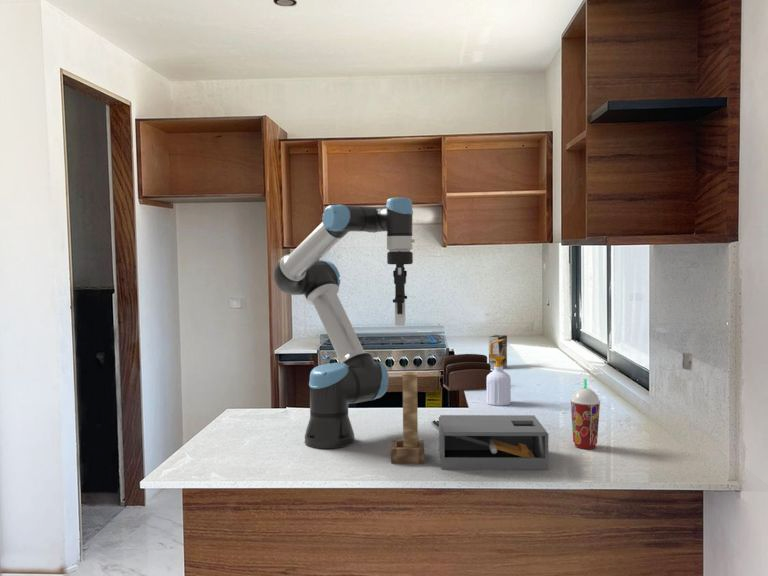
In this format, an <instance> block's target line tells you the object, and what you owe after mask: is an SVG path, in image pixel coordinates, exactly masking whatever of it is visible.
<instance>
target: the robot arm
mask: <svg viewBox="0 0 768 576" xmlns="http://www.w3.org/2000/svg"><path fill="white" fill-rule="evenodd" d="M385 205H386V206H367V205H366V206H365V205H362V206H361V205H348V204H347V205H345V204H340V203H339V204H330V205H328V206H326V207H325V209H324V212H323V213H322V217H321V219H322V222H321V223H319V225H317V227H316V228H315V229H314V230H313V231H312V232H311V233H310V234H309V235H307V237H306V238H304V240H303V241H302V242H301V243H300V244H298V246H297V247H296V248H295V249H294V250H293V251H291V253H288V254H285V255H283V256H282V257H281V258H280V259H279V261H278V262H277V263H276V265H275V266H274V269H273V280H274V283H275V285H276V287H277V288H278V289H279V290H280V291H281V292H283V293H284V294H288V295H292V296H301V295H303V296H305V299H306V301H307V304H309V305H313V306H314V308H315V310H316V312H317V315H318V316H319V318H320V320H321V323H322V325H323V328H324V330H325V332H326V334H327V337H328V339H329V341H330V343H331V345H332V347H333V350H334V352H335V354H336V356H337V358H338V361H339V362H332V363H324V364H323V363H322V364H320V365H317V366H315V367H313V368H312V369H311V371H310V373H309V382H308V386H309V411H310V412H309V415H310V416H309V420H308V423H307V427H306V430H305V433H304V444H305V445H306V446H309V447H311V448H316V449H337V448H338V449H339V448H344V447H348V446H350V445H352V444H354V443H355V431H354V428H353V426H352V423H351V421H350V416H349V405H352V404H358V403H363V402H368V401H370V402H371V401H374V400H376V399H380V398H382V397H383V396H384V395H385V394H386V392H387V390H388V389H389V388H388V387H389V379H390V378H389V372H388V369H387V367H386V366H385V364H384V363H381V362H380V361H375V360H374V358H373V355H372V354H371V353H370V352H368V351H365V350H364V347H363V346H362V343H361V342H360V340H359V337H358V336H357V334H356V331H355V329H354V327H353V325H352V323H351V321H350V319H349V317H348V314H347V312H346V310H345V308H344V306H343V304H342V301H341V300H340V298H339V295H338V293H339V290H340V285H341V279H340V277H341V275H340V272H339V270H338V267H337V266H336V265H335V264H334V263H333V262H331V261H329V260H323V259H321V258H322V257H323V256H324V255H325V254H326V253H328V252H329V251H330V250H331V249H332V248H333V247H334V246H335V245H337V243H338V242H339V241H340V240H341V239H343V238H344V237H345V236H346V235H347V234H348V233H350V232H364V233H379V232H386V249H387V254H386V259H387V260H386V261H387V262H386V263H387V264H388V265H395V268H394V270H393V271H392V273H393V274H392V276H393V284H394V285H395V289H394V292H395V293H394V296H395V297H394V298H393V299H392V303H393V304H394V325H395V326H406V324H405V323H406V300H407V299H408V295H406V291H405V290H406V289H405V285H406V283H407V276H408V275H407V274H408V271H407V270H406V268H405V265H412V264H413V263H414V259H413V258H414V257H413V256H414V253H413V252H412V251H411V250H413V243H415V239H413V215H414V214H413V213H414V211H413V202H412V200H411V198H409V197H391V198H388V199H387V200H386V204H385Z"/></svg>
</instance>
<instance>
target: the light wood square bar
mask: <svg viewBox="0 0 768 576" xmlns="http://www.w3.org/2000/svg"><path fill="white" fill-rule="evenodd" d="M418 420H419V419H418V372H417V371H402V440H403V447H412V448H418V440H419V439H418V438H419V437H418V432H419V431H418V429H419V428H418V426H419V424H418V423H419V421H418Z"/></svg>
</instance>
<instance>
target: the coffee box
mask: <svg viewBox="0 0 768 576" xmlns="http://www.w3.org/2000/svg"><path fill="white" fill-rule="evenodd" d="M501 339H503V341H501V342H497V343H494V344H493V355H494V356H503V357H505V358H504V359H502V361H501V364H502V365H503V369H504V368H505V369H506V368H507V367H508V335H505V334H504V335H503V334H496V335H490V336H488V363H489V364H490V366H491V369H493V370H494V364H496V361H495V359H492V358H491V357H490V345H491V343H493V342H494V341H497V340H501Z"/></svg>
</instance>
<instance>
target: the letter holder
mask: <svg viewBox="0 0 768 576" xmlns="http://www.w3.org/2000/svg"><path fill="white" fill-rule="evenodd" d="M442 371H443V372H442V373H443V374H442V377H443V378H442V383H443V384H442V385H443V386H442V387H443V388H445V389H446V390H447V391H449V392H452V391H453V392H455V391H457V392H458V391H472V390H473V391H476V390H478V391H479V390H480V391H481V390H487V375H488V374H489V373H491V372H493V371H494V370H491V366H490V364H489V362H488V356H487V355H486V354H481V353H479V354H478V353H460V354H459V353H458V354H452V355H451V354H450V355H446V356H444V357H443V359H442Z"/></svg>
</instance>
